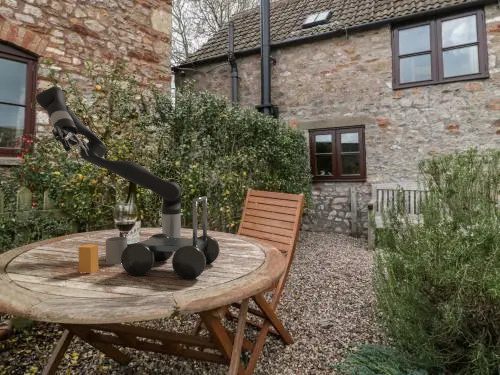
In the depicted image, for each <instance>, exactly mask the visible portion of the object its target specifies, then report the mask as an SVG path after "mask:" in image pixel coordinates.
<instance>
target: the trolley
mask: <svg viewBox="0 0 500 375" xmlns="http://www.w3.org/2000/svg"><path fill="white" fill-rule="evenodd" d="M200 202H202V235H200V236H198V203H200ZM191 203H192V238H190V237H189V238H188V237H187V238H186V237H181V238H170V237H169V236H168V235H166V234H163V233H162V232H161V233H160V232H159V233H155V234H153V235H152V236H150V237H149V238H148V239H145V240H142V241H141V242H134V243H132V244H129V245H127V247H126V248H125V249H124V251H123V252H122V255H121V263H122V264H121V266H122V268H123V270H124V272H126V273H127V274H128V275H130V276H134V277H141V276H144V275H145V274H147V273H149V272H150V271H151V270H152V268H153V267H154V264H155V262H157V263H164V262H166V261H168V260H169V259H171V257H172V259H171V266H172V269H173V271H174V272H175V274H176V275H177V277H179V278H181V279H184V280H187V281H191V280H195V279H198V277H200V276H201V275H202V273H203V272H204V271H205V270H206V267H207V265H210V264H212V263H214V262H215V261H216V260H217V259H218V257H219V256H220V250H221V248H220V245H219V243H218V241H217V240H216V238H214V237H213V236H211V235H208V227H207V226H208V217H207V216H208V197H207V196H206V195H205V196H200V197H196V198H195V197H194V198H193V199H191Z"/></svg>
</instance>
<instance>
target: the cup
mask: <svg viewBox="0 0 500 375" xmlns="http://www.w3.org/2000/svg"><path fill="white" fill-rule="evenodd" d="M127 246H128V238H127V237H126V236H125V237H124V236H114V237H113V236H112V237H108V238H106V239H105V264H106V263H107V264H106V265H108V264H119V265H122V264H121V255H122V252H123V251H124V249H125V248H126V247H127Z"/></svg>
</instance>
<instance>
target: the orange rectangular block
mask: <svg viewBox="0 0 500 375" xmlns="http://www.w3.org/2000/svg"><path fill="white" fill-rule="evenodd" d="M97 270H98V271H99V244H84V245H81V246H78V273H79V272H86V273H92V272H94V271H96V272H98V271H97ZM94 273H95V272H94ZM92 274H93V273H92Z"/></svg>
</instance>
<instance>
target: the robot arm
mask: <svg viewBox="0 0 500 375" xmlns="http://www.w3.org/2000/svg"><path fill="white" fill-rule="evenodd" d="M35 100H36V101H35V102H37V104H38V105H39V106H40V107H41V108H43V109H44V110H45V111H47V114H48V116H49V119H50V122H51V124H52V127H53V129H52V131H51V132H52V134H53V137H54V140H55V141H56V142H59V143H60V144H61V145H62V147H63V149H64V151H66V152H69V151H70V150H72V147H73V148H74V149H75V150H78V152H79V155H80V158H82V159H83V160H84V161H86V162H88V163H90V164H92V165H94V166H96V167H99V168H102V169H104V170H107V171H110V172H111V173H113V174H116V175H117V176H120V177H121V178H123V179H125V180H127V181H129V182H130V183H133V184H135V185H137V186H140V187H142V188H145V189H147V190H149V191H151V192H154V193H155V194H156V195H158V196H159V197H161V198H162V208H161V233H163V234H166V235H168V236H169V237H170V238H182V237H181V230H182V229H181V228H182V226H181V223H182V221H181V220H182V219H181V213H182V212H181V209H182V188H181V186H180V185H179V184H178V183H176V182H174V181H171V182H170V181H168V180H165V179H162V178H160V177H158V176H157V175H155V174H154V173H152V172H151V171H149V170H148V169H146V168H145V167H143V166H142V165H140V164H138V163H136V162H135V161H134V162H133V161H131V160H109V159H106V158H103V156H105V154H106V153H107V151H108V147H107V145H106V144H105V143H104V142H103V141H102V140H101V139H100V138H99V137H98V136H97V135H96V134H95V133H94V132H93V131H92V130H90V128H88V127H87V126H86V125H85V124H84V123H83V122H82V121H81V119H80V118H79V117H78V116H77V115H76V114H75V112H74V111H73V110H72V109H71V107H70V106H68V105H67V98H66V95H65V92H64V91H63V90H62V89H61V88H60V87H58V86H50V87H49V88H47V89H45V90H43V91H40V92H38V93H37V94H36V96H35ZM78 135H81V136H83V137H85V138H86V139H87V140H88V141H87V143H86V141H85V139H80V138H79V136H78Z"/></svg>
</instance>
